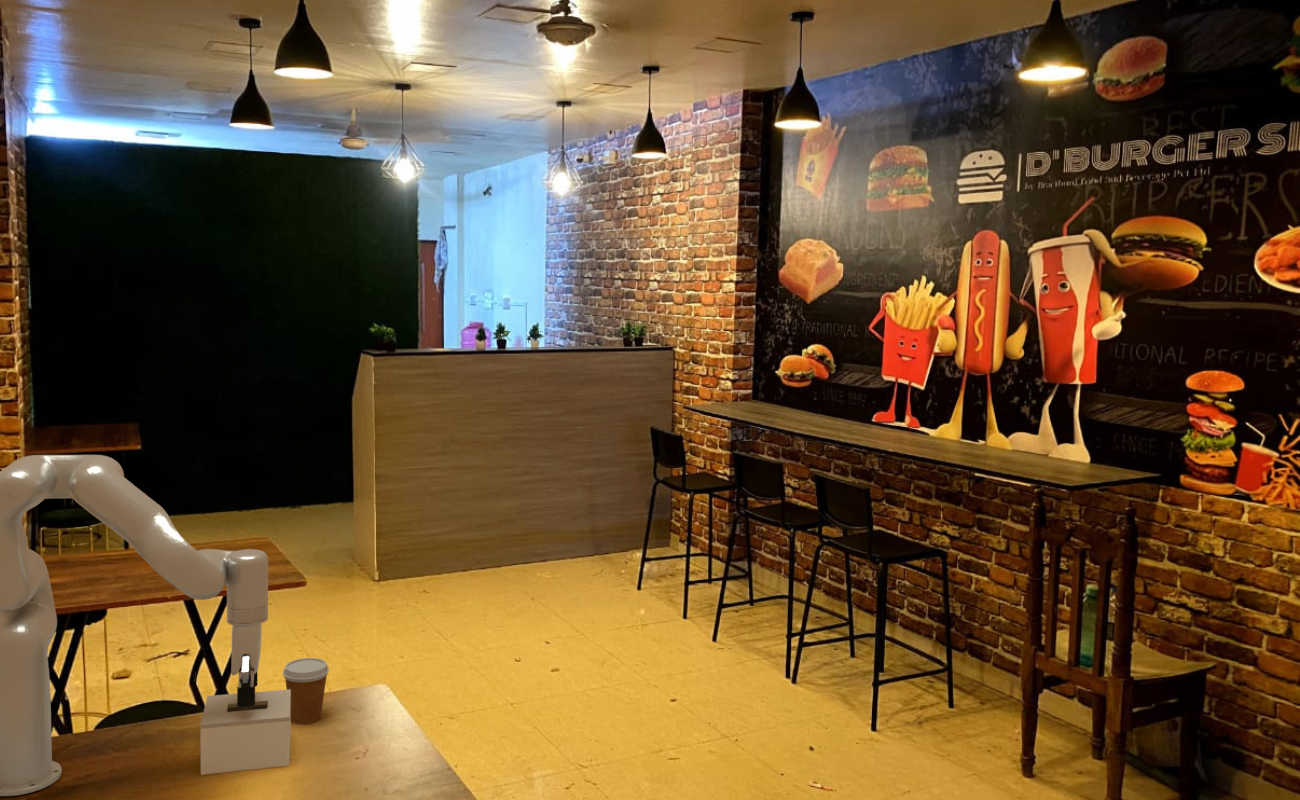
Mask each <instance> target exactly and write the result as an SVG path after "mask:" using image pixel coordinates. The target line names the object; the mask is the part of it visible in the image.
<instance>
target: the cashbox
mask: <svg viewBox="0 0 1300 800" xmlns="http://www.w3.org/2000/svg"><path fill="white" fill-rule="evenodd" d="M291 723H292V721H291V689H289V690H287V689H278V690H267V691H266V690H265V691H255V705H254V706H248V707H238V706H237V693H229V694H228V693H227V694H216V695H215V694H213V695H207V696H206V700H205V704H204V709H203V713H202V716H201V720H200V775H210V774H212V775H213V774H222V773H223V774H224V773H233V772H241V771H250V770H251V771H252V770H262V769H270V768H271V769H273V768H281V767H290V760H291V759H290V758H291V757H290V754H291V735H292V734H291V726H292V725H291Z"/></svg>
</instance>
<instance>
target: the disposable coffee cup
mask: <svg viewBox="0 0 1300 800" xmlns="http://www.w3.org/2000/svg"><path fill="white" fill-rule="evenodd" d="M329 672H330V668H329V666H328V663H327V661H325V660H323V659H321V658H314V657H305V658H299V659H293V660H292V661H289V662H288V663H286V665H285V666H284V669H283V671H282V675H283V677H284V679H285V688H286V690H289V689H291V723H293V724H296V725H307V724H309V725H310V724H313V723H316V722H319V720H321V718H322V710H323V703H324V697H325V691H326V683H327V682H326V681H327V675H329Z"/></svg>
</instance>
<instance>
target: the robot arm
mask: <svg viewBox="0 0 1300 800" xmlns="http://www.w3.org/2000/svg"><path fill="white" fill-rule="evenodd" d="M46 499H48V500H49V499H50V500H51V499H72V500H74V501H75V502H76V503H77V504H78V505H79V506H81V507H82V509H83V508H84V510H86V511H87V512H88V513H89V514H91V515H92V516H93V517H95V518H96V519H97V520H98V521H100V522H102V523H103V524H104V525H105V526H107V527H108V528H109V529H111V530H112V531H113V532H114V533H115V534H117V535H118V536H119V537H121V538H122V539H123V540H125V542H127V543H128V544H129V545H130V546H131V547H132V548H133V550H134V551H135V552H136V553H137V554H138V555H139V556H140V557H141V558H142V559H143V560H144V561H146V562H147V564H148V565H149V566H150V567H151V568H152V569H153V570H154V571H156V573H158V575H159V576H160V577H162V578H163V579H164V580H166V581H167V582H168V583H169V584H171V585H172V586H173V587H175V589H176V588H177V590H179V591H180V592H182V593H183V594H184V595H186V596H187V597H190V598H192V599H195V600H199V601H205V600H207V601H208V600H210V599H212V598H215V597H216V596H218V595H219V594H220V592H221V591H222V590H223V589H224V587H225V586H226V622H227V623H228V625H231V626H232V630H231V665H230V666H231V669H230V670H231V673H230V674H231V675H232V676H235V675H238V686H237V687H236V689H237V691H236V694H237V706H238V707H248V706H254V705H255V692H256V687H258V671H259V664H260V658H261V650H262V649H261V648H262V624H263V623H266V622H267V621H268V620H269V580H268V579H269V557H268V555H267V553H266V552H265V551H263V550H261V549H253V548H245V549H240V550H223V549H215V548H205V549H204V548H203V549H199V550H197V549H195V547H194V546H192V544H190V543H189V542H188V541H187V540H186V539H185V538H184V537H183V536H182V535H181V534H180V533H179V532H178V530H177V528H176V527H175V525H174V524H173V521H172V520H171V518H170V516H169V515H168V513H167V511H166V510H165V509H164V508H163V507H162V506H161V505H160V504H158V503H157V502H156V501H155V500H154V499H153V498H151V497H149V496H148V495H147V494H146V493H145V492H143V491H142V490H141V489H140V488H138V487H137V486H135V485H134V483H132V482H131V481H129V480H128V479H127V478H126V477H125V473H124V470H123V468H122V466H121V464H120V463H119V462H118V461H117V460H115V459H114V458H112V457H110V456H107V455H102V454H34V455H27V456H22V457H20V458H18V459H15V460H14V461H13V462H11V463H10V464H9V465H8V466H6V467H5V468H4V469H2V470H1V471H0V797H13V796H14V797H15V796H21V795H26V794H30V793H35V792H36V791H40V790H43V789H45V788H47V787H49V786H52V784H54V783H56V781H58V780H59V779H60V777H61V776H62V773H63V772H62V766H61V763H59V762H57V761H55V760H53V755H52V753H53V752H52V747H53V746H52V712H51V711H52V709H51V708H52V707H51V706H52V705H51V701H52V700H51V683H50V682H51V681H50V679H51V678H50V669H49V668H50V667H49V659H48V658H49V657H48V652H49V646H50V644H51V642H52V640H53V639H54V636H55V633H56V631H57V626H58V617H57V612H56V605H55V600H54V596H53V590H52V586H51V580H50V574H49V570H48V567H47V565H46V563H45V561H44V559H43V558H42V556H41V555H40V554H38V552H35V551H34V550H32V549H30V548H29V545H28V537H27V533H26V529H25V526H24V523H23V517H24V515H25V514H26V513H27V512H28V511H29V510H31V509H33V508H34V507H36V506H38V505H39V504H40V503H41V502H43V501H44V500H46ZM221 593H222V592H221Z"/></svg>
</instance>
